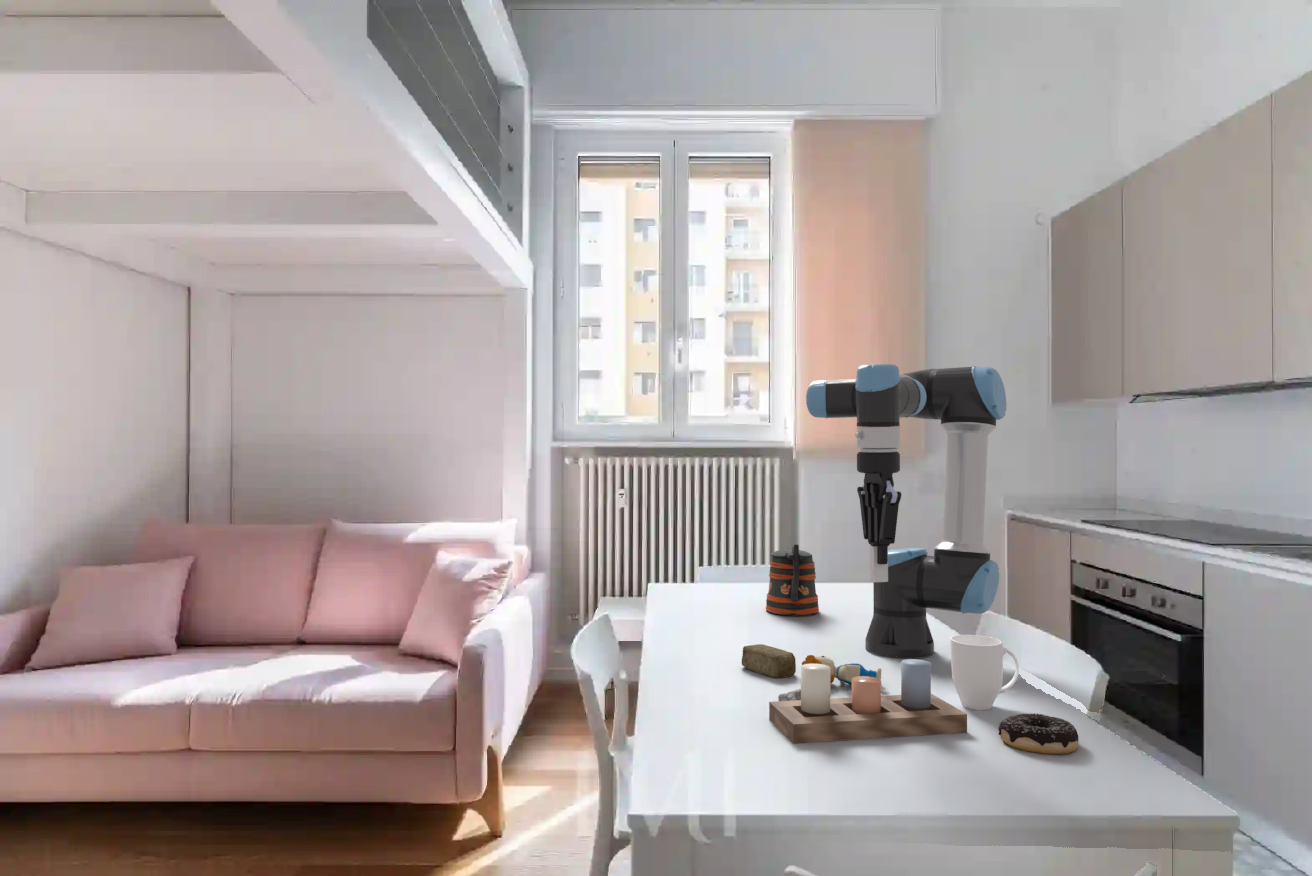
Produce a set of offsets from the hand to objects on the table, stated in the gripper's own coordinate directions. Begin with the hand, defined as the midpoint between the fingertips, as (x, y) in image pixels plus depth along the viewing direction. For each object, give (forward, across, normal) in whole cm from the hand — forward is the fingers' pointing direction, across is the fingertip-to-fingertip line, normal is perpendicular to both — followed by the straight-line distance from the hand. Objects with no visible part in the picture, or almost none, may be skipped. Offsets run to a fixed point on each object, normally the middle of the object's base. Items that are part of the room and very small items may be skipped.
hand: (879, 581), depth 158 cm
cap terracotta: (+21, +10, -8) cm, 25 cm away
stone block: (+23, -26, -12) cm, 37 cm away
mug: (+23, +4, +18) cm, 30 cm away
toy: (+23, -13, -2) cm, 27 cm away
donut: (+23, +23, +16) cm, 36 cm away
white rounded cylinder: (+19, +10, -16) cm, 27 cm away
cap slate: (+19, +10, +2) cm, 22 cm away
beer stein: (+25, -82, +14) cm, 87 cm away
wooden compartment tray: (+22, +10, -8) cm, 25 cm away
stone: (+23, -2, -15) cm, 27 cm away
